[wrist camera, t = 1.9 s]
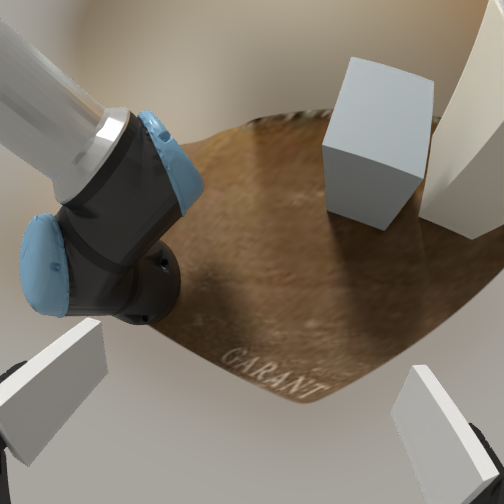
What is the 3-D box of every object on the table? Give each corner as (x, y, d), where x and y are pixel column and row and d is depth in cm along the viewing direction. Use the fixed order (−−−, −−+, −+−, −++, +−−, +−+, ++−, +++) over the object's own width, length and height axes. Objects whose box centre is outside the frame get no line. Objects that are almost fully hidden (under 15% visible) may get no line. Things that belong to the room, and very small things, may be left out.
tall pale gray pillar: (326, 210, 40) (322, 144, 22) (348, 142, 41) (351, 56, 23) (384, 231, 38) (423, 178, 20) (402, 160, 38) (434, 81, 20)
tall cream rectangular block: (418, 216, 37) (527, 87, 8) (432, 136, 37) (490, -7, 9) (471, 239, 34) (609, 160, 5) (480, 158, 34) (566, 44, 6)
